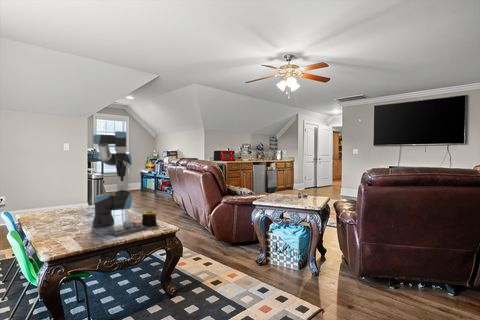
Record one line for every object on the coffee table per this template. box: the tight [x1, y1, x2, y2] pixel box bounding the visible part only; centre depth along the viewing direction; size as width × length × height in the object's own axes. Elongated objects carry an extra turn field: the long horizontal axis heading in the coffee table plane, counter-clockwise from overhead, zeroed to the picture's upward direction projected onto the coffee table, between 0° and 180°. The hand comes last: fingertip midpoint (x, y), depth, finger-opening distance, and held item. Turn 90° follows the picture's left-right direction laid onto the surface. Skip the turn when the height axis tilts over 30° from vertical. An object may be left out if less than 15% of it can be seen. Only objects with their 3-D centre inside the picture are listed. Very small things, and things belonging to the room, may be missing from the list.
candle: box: [141, 210, 157, 228], centre depth 209 cm, size 10×10×10 cm
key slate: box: [122, 220, 134, 229], centre depth 194 cm, size 5×5×5 cm
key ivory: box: [113, 224, 124, 231], centre depth 189 cm, size 5×5×5 cm
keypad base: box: [108, 225, 148, 237], centre depth 194 cm, size 12×22×2 cm, turn 140°
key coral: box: [132, 220, 142, 227], centre depth 199 cm, size 5×5×5 cm
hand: (121, 185), depth 197 cm, fingers closed
